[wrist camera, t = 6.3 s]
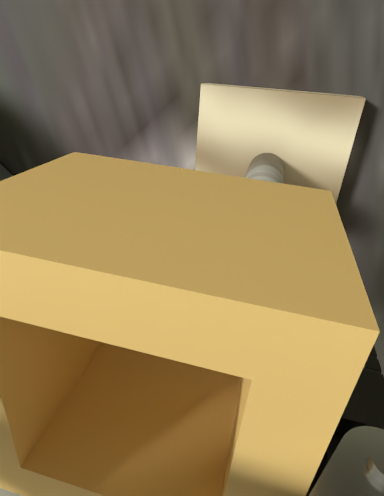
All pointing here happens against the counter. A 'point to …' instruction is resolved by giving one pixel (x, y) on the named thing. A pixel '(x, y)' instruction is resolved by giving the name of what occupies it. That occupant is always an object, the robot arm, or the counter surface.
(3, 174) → the storage bin
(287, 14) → the counter surface
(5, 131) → the counter surface
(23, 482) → the ring
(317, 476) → the robot arm
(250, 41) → the counter surface
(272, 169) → the post stand
